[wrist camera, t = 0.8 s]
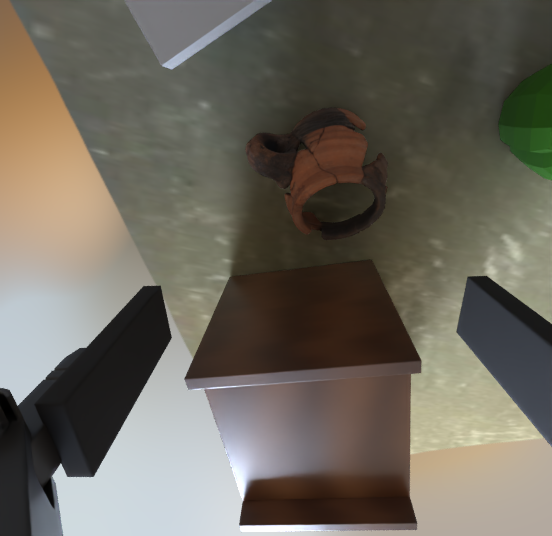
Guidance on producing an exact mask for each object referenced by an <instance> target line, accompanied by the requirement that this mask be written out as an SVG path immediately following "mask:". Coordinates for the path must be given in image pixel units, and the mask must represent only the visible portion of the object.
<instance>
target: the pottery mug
mask: <svg viewBox="0 0 552 536" xmlns="http://www.w3.org/2000/svg"><path fill="white" fill-rule="evenodd" d="M353 125H354V126H356V127H358V128H359V129H361V130H364V129H365V128H366V124H365V123H364V122H363V121H362V120H361V119H360V118H359V117H358V116H357V115H355V114H354V113H352V112H350V111H348V110H345V109H341V108H323V109H320V110H317V111H314V112H312V113H310V114H308V115H306V116H305V117H304V118H303V119H302V120H301V121H299V122H298V123H297V124H296V126H295V127H294V129H293V130H292V132H291V133H290V134H285V135H274V134H270V133H259V134H257V135H256V136H255V137H253V138H252V139H251V140H250V141H249V142H248V143H247V145H246V149H245V150H246V154H247V157H248V161H249V164H250V166H251V167H252V168H253V169H254V170H255V171H256V172H258V173H259V174H261V175H263V176H265V177H268V178H271V179H273V180H274V181H275V182H276V183H277V185H278V186H279V187H280V188H283V189H285V188H287V187H288V186H289V185H290V190H291V194H290V193H285V201H286V204H287V208H288V210H289V212H290V214H291V215H292V219H293V222H294V224H295V226H296V227H297V228H298V229H299V230H300V231H301V232H303V233H304V234H309V233H310V232H311V231H312V229H313V230H320V231H321V232H322V238H323V239H324V240H336V239H342V238H346V237H349V236H353V235H355V234H357V233H359V232H360V231H363V230H365V229H366V228H368V227H370V225H371V224H373V223H374V222H375V221H376V220H377V219H378V218H379V217H380V216H381V214H382V212H383V210H384V208H385V203H386V192H387V188H388V187H387V186H385V185H386V181H387V166H388V162H387V160H386V158H385V156H384V155H383V154H382V153H379V154H378V155H377V159H376V160H375V161H373V162H372V163H370V164H369V165H365V166H363V167H362V164H363V162H364V159H365V154H366V151H367V147H368V142H367V141H366V139H365V137H364V136H363V135H362V134H360V133H357V132H355V131H354V130H355V128H354V126H353ZM301 143H303V144H304V145H305V147H306V149H303V150H300V151H299V152H297V151H298V148H299V146H300V144H301ZM336 183H357V184H359V183H360V184H362V185H364V186H366V187H368V188H369V189H370V190H371V191H372V192H373V194H374V202H373V204H372V205H371V206H370V207H369V208H368V209H367V210H365V211H364V212H363V213H362V214H359V215H357V216H354V217H352V218H350V219H348V220H345V221H342V222H335V223H334V222H333V223H332V222H320V221H319V220H318V219H317V217H316V216H315V215H314V214H313V213H311V212H302V209H303V205H304V204H305V202H306V201H307V200H308V199H309V198H310V197H311V196H312V195H313V194H315V193H316V192H317V191H319V190H321V189H323V188H325V187H328V186H331V185H334V184H336Z"/></svg>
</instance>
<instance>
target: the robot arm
mask: <svg viewBox="0 0 552 536" xmlns="http://www.w3.org/2000/svg"><path fill="white" fill-rule="evenodd" d="M457 333H458V334H459V336H460V337H461V338H462V339H463V340H464V342H465V343H466V344H467V345H468V346H469V348H470V349H471V350H472V351H473V352H474V354H475V355H476V356H477V357H478V359H479V360H480V361H481V362H482V363H483V365H484V366H485V367H486V368H487V369H488V371H489V372H490V373H491V374H492V375H493V377H494V378H495V379H496V380H497V381H498V383H499V384H500V385H501V386H502V387H503V389H504V390H505V391H506V392H507V393H508V395H509V396H510V397H511V398H512V399H513V401H514V402H515V403H516V404H517V405H518V407H519V408H520V409H521V410H522V412H523V413H524V414H525V415H526V416H527V418H528V419H529V420H530V421H531V422H532V424H533V425H534V426H535V427H536V428H537V430H538V431H539V432H540V433H541V434H542V436H543V437H544V438H545V439H546V440H547V442H548V443H549V444H550V445H551V446H552V324H551V323H550V322H548V321H547V320H545V319H544V318H543V317H541V316H540V315H539V314H537V313H536V312H535V311H533V310H532V309H531V308H529V307H528V306H527V305H525V304H524V303H522V302H521V301H520V300H518V299H517V298H516V297H514V296H513V295H512V294H510V293H509V292H508V291H506V290H505V289H503V288H502V287H501V286H499V285H498V284H497V283H495V282H494V281H493V280H491V279H490V278H489V277H487V276H471V277H468V278H467V283H466V288H465V292H464V297H463V302H462V307H461V312H460V317H459V322H458V327H457ZM171 338H172V337H171V332H170V328H169V323H168V318H167V314H166V309H165V304H164V300H163V295H162V290H161V286H143V287H142V289H140V291H139V292H138V293H137V294H136V295H135V296H134V297H133V298H132V299H131V300H130V301H129V303H128V304H127V305H126V306H125V307H124V308H123V309H122V310H121V311H120V312H119V313H118V314H117V315H116V317H115V318H114V319H113V320H112V321H111V322H110V323H109V324H108V325H107V326H106V327H105V328H104V329H103V331H102V332H101V333H100V334H99V335H98V336H97V337H96V338H95V339H94V340H93V341H92V342H91V344H89V346H88V347H87V348H79V349H78V350H76V351H75V352H73V353H72V354H70V355H69V356H67V357H66V358H64V359H63V360H62V361H61V362H60V363H59V365H58V366H57V367H56V368H55V370H54V371H52V372H51V373H50V374H49V375H48V376H47V377H46V379H45V380H43V381H42V382H41V383H40V384H39V385H38V386H37V387H36V388H35V389H34V390H33V391H32V392H31V393H30V394H29V395H28V396H27V397H26V398H25V399H24V400H23V401H22V402H21V403H20V404H19V405H18V406H17V404H16V402H15V400H14V398H13V396H12V394H11V392H10V390H8V389H4V388H0V536H63V531H62V524H61V517H60V511H59V503H58V496H57V490H56V483H55V482H54V480H53V477H52V475H53V474H54V472H55V471H56V469H57V468H58V466H59V465H60V463H61V464H62V466H63V468H64V470H65V472H66V475H67V477H94V475H95V473H96V472H97V470H98V468H99V466H100V464H101V463H102V461H103V459H104V457H105V456H106V454H107V452H108V450H109V448H110V447H111V445H112V443H113V441H114V440H115V438H116V436H117V434H118V432H119V431H120V429H121V427H122V425H123V423H124V422H125V420H126V418H127V416H128V415H129V413H130V411H131V409H132V408H133V406H134V404H135V402H136V400H137V398H138V397H139V395H140V393H141V392H142V390H143V388H144V386H145V384H146V383H147V381H148V379H149V377H150V375H151V374H152V372H153V370H154V368H155V366H156V365H157V363H158V361H159V360H160V358H161V356H162V354H163V352H164V350H165V349H166V347H167V345H168V344H169V342H170V340H171Z"/></svg>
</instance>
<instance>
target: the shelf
mask: <svg viewBox="0 0 552 536" xmlns="http://www.w3.org/2000/svg"><path fill="white" fill-rule="evenodd" d="M415 373H421V359H420V357H419V355H418V353H417V351H416V349H415V347H414V345H413V343H412V341H411V338H410V336H409V334H408V332H407V330H406V328H405V326H404V324H403V322H402V320H401V318H400V316H399V314H398V312H397V310H396V308H395V306H394V304H393V302H392V300H391V298H390V296H389V294H388V292H387V290H386V288H385V286H384V283H383V281H382V279H381V277H380V275H379V273H378V271H377V269H376V267H375V265H374V263H373V261H372V260H365V261H357V262H348V263H340V264H332V265H323V266H315V267H307V268H299V269H290V270H282V271H274V272H265V273H257V274H249V275H240V276H232V277H230V278H229V280H228V282H227V284H226V287H225V289H224V291H223V293H222V296H221V298H220V300H219V302H218V305H217V307H216V309H215V311H214V314H213V316H212V318H211V320H210V323H209V325H208V327H207V329H206V332H205V334H204V336H203V338H202V341H201V343H200V345H199V347H198V350H197V352H196V354H195V356H194V359H193V361H192V363H191V365H190V368H189V370H188V372H187V374H186V377H185V382H186V385H187V388H188V390H194V389H204V390H205V393H206V396H207V399H208V401H209V404H210V407H211V410H212V413H213V415H214V419H215V422H216V424H217V427H218V430H219V433H220V436H221V439H222V442H223V445H224V448H225V450H226V453H227V456H228V459H229V462H230V465H231V468H232V471H233V473H234V476H235V479H236V482H237V485H238V488H239V491H240V494H241V496H242V499H243V503H242V510H241V516H240V523H239V526H240V529H241V531H243V532H245V531H339V530H340V531H347V530H417V521H416V517H415V513H414V510H413V506H412V503H411V500H410V403H411V374H415Z"/></svg>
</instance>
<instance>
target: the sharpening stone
mask: <svg viewBox="0 0 552 536" xmlns="http://www.w3.org/2000/svg"><path fill="white" fill-rule="evenodd" d="M124 1H125V3H126V4H127V6H128V8H129V10H130V11H131V13H132V15H133V17H134V19H135V20H136V22H137V24H138V26H139V27H140V29H141V31H142V33H143V34H144V36H145V38H146V40H147V41H148V43H149V45H150V47H151V48H152V50H153V52H154V54H155V55H156V57H157V59H158V61H159V62H160V64H161V66H164V67H166V68H169V69H173V68H175V67H176V66H178V65H179V64H180V63H182V62H183V61H185V60H186V59H188V58H189V57H191V56H192V55H194V54H195V53H196V52H198V51H199V50H201V49H202V48H204V47H205V46H207V45H208V44H210V43H211V42H212V41H214V40H215V39H217V38H218V37H220V36H221V35H223V34H224V33H225V32H227V31H228V30H230V29H231V28H233V27H234V26H236V25H237V24H239V23H240V22H241V21H243V20H244V19H246V18H247V17H249V16H250V15H252V14H253V13H255V12H256V11H257V10H259V9H260V8H262V7H263V6H265V5H266V4H268V3H269V2H271V1H272V0H124Z"/></svg>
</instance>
